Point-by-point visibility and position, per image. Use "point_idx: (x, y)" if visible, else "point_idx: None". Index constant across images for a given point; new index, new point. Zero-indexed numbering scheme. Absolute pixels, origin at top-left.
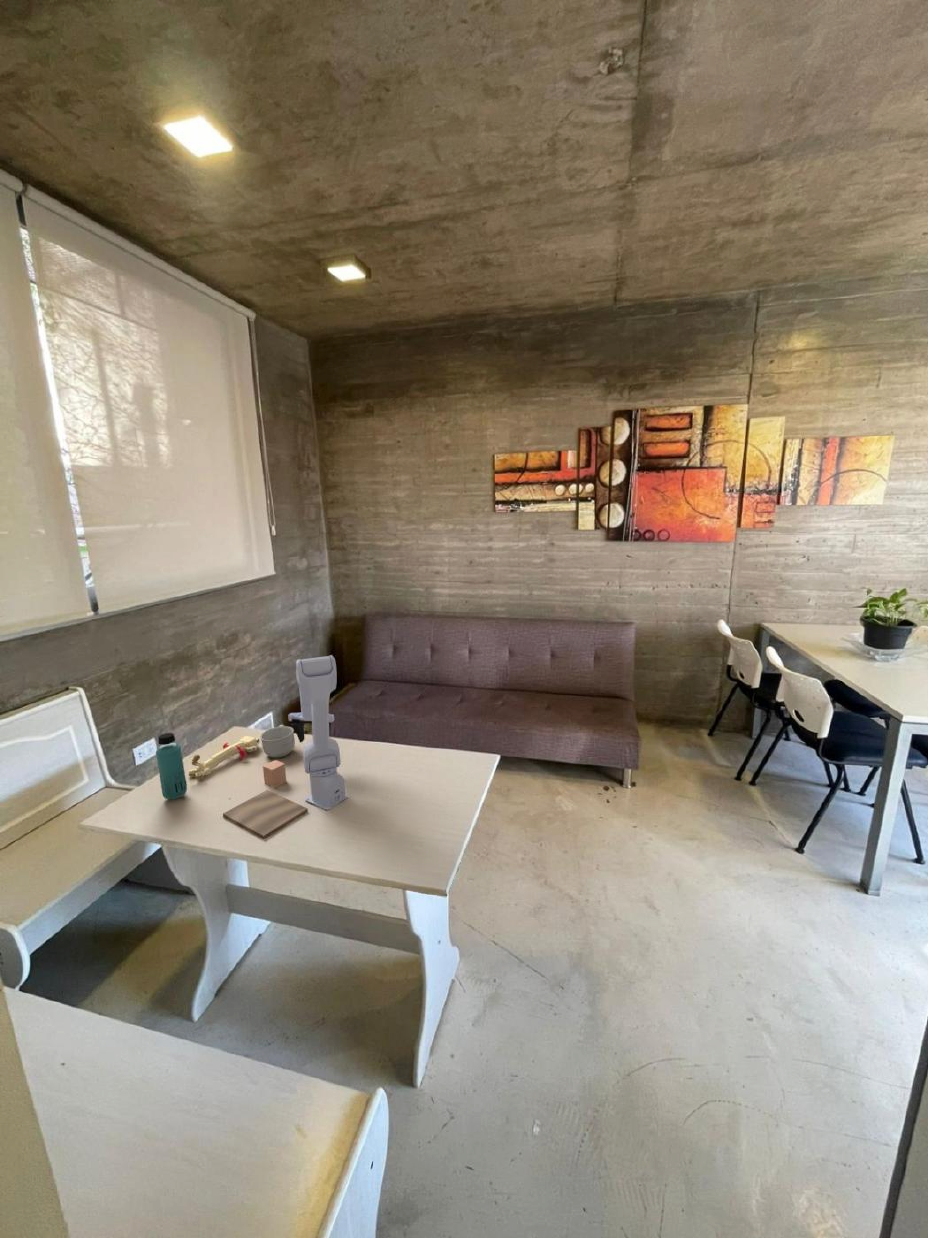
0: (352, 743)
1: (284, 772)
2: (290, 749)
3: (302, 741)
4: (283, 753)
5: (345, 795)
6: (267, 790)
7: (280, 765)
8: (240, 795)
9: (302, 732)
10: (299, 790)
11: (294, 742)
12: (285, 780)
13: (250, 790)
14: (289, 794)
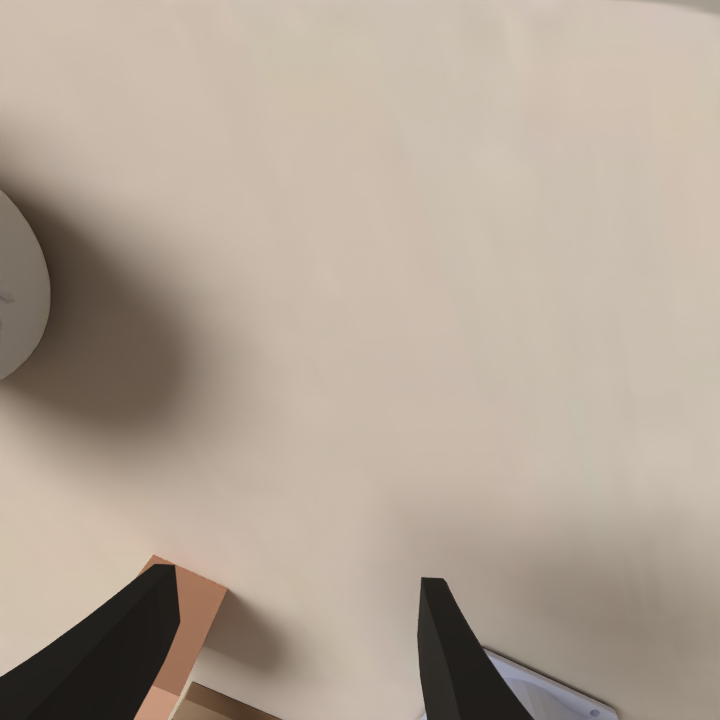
0: (489, 29)
1: (202, 644)
2: (42, 314)
3: (177, 605)
4: (25, 360)
5: (607, 717)
6: (190, 705)
7: (163, 717)
8: None
9: (111, 671)
10: (341, 659)
11: (8, 237)
12: (223, 597)
13: None
14: (307, 688)
